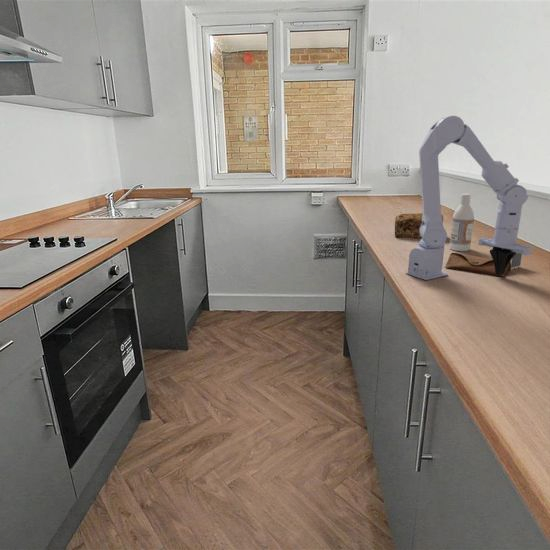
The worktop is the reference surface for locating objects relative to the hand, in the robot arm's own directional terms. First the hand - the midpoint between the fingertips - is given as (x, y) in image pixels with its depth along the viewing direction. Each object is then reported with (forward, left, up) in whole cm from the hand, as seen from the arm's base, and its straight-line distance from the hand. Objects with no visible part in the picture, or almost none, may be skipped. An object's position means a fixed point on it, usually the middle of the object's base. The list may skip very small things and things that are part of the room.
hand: (499, 273), depth 118 cm
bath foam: (+18, +28, -1) cm, 33 cm away
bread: (+22, +51, -1) cm, 55 cm away
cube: (+12, +6, -1) cm, 13 cm away
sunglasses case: (+1, +8, -2) cm, 9 cm away
